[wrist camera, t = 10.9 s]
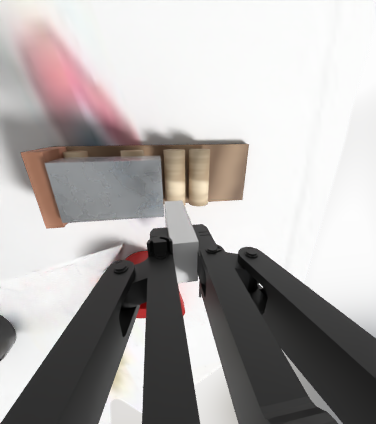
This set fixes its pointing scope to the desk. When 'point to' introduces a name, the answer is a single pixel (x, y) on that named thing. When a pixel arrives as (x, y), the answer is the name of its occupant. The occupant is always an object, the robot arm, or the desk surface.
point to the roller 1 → (75, 154)
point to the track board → (219, 155)
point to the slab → (107, 187)
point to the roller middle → (174, 174)
